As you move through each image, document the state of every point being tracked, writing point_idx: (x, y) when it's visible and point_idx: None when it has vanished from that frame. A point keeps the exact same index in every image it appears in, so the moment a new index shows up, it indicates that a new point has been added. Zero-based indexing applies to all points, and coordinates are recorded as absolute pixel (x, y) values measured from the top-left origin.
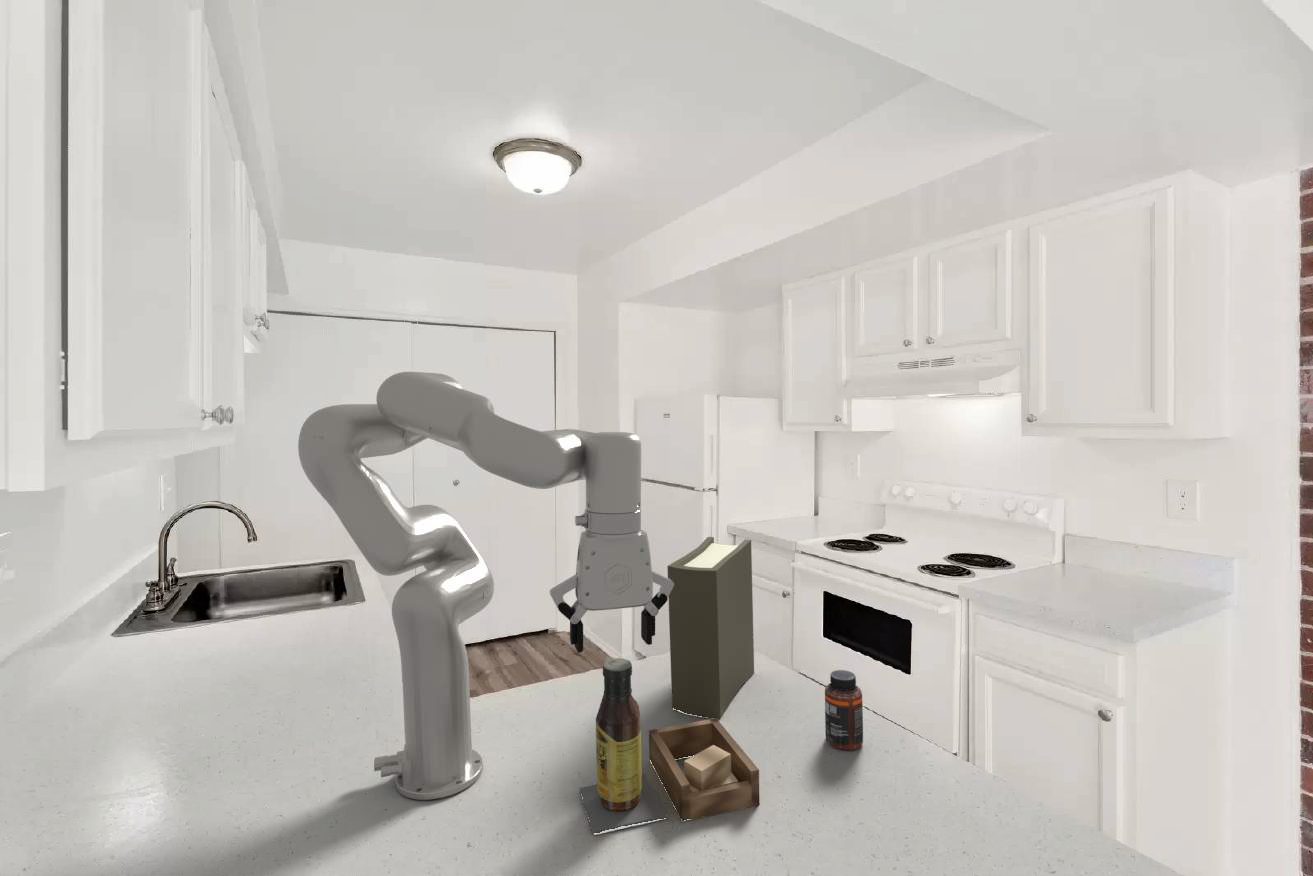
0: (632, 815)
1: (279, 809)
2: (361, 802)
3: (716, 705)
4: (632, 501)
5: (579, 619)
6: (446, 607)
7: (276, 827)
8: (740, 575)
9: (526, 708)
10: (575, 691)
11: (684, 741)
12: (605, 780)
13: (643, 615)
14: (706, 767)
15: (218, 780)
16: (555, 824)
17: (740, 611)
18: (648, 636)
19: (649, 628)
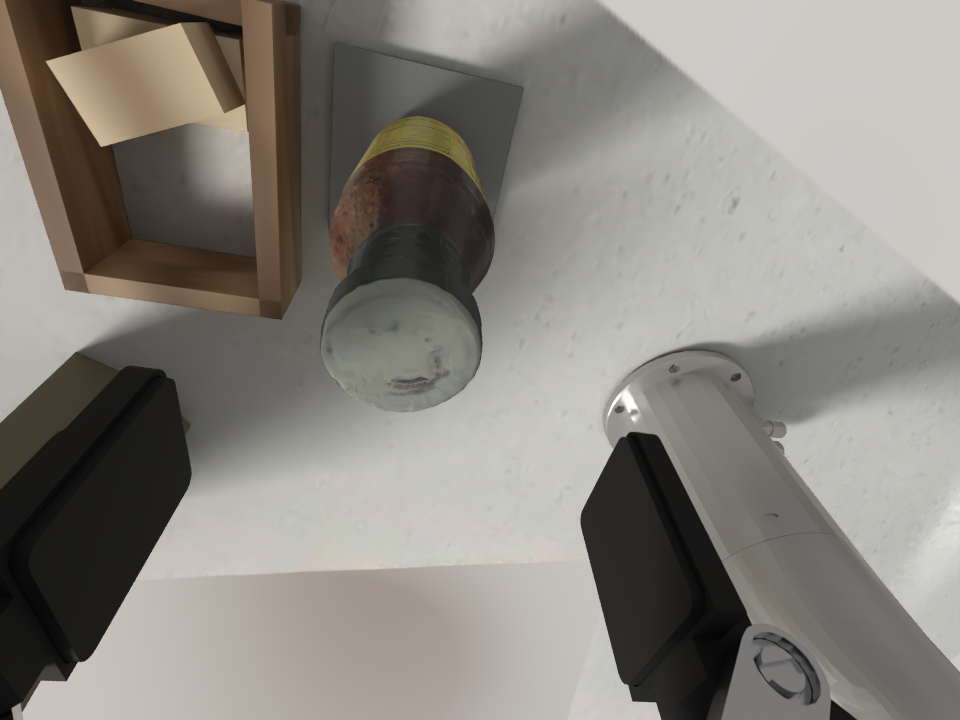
0: (416, 93)
1: (883, 425)
2: (797, 394)
3: (64, 377)
4: None
5: (743, 661)
6: None
7: (910, 389)
8: None
9: (469, 518)
10: (369, 534)
11: (194, 270)
12: (472, 160)
13: (73, 615)
14: (156, 34)
15: (895, 507)
16: (573, 175)
17: None
18: (124, 408)
19: (68, 456)
